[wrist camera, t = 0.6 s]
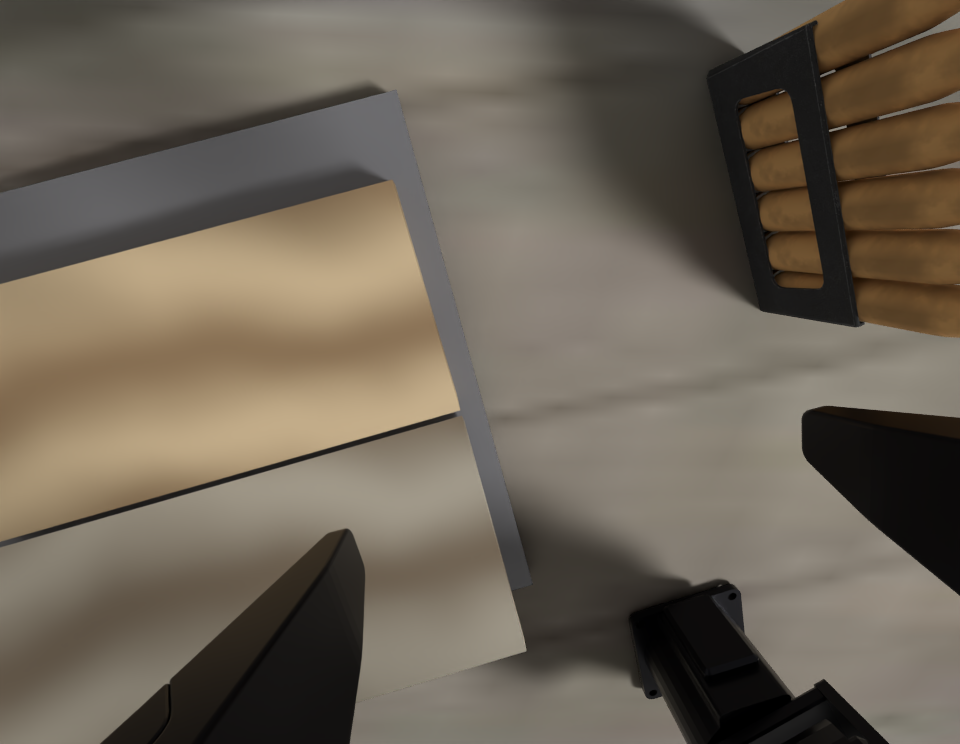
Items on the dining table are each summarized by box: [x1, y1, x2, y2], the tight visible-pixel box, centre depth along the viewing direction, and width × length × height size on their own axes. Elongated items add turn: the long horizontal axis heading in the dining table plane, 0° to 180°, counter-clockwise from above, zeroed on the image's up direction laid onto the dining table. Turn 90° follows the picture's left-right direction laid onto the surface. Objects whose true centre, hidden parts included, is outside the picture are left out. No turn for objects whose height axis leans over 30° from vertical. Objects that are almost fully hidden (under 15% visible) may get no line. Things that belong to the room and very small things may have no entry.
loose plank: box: [0, 416, 527, 744], centre depth 18 cm, size 9×20×2 cm, turn 104°
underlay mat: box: [0, 90, 533, 591], centre depth 20 cm, size 23×22×1 cm
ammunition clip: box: [707, 0, 960, 338], centre depth 14 cm, size 11×2×12 cm, turn 24°
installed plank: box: [0, 180, 460, 542], centre depth 17 cm, size 9×20×2 cm, turn 105°
